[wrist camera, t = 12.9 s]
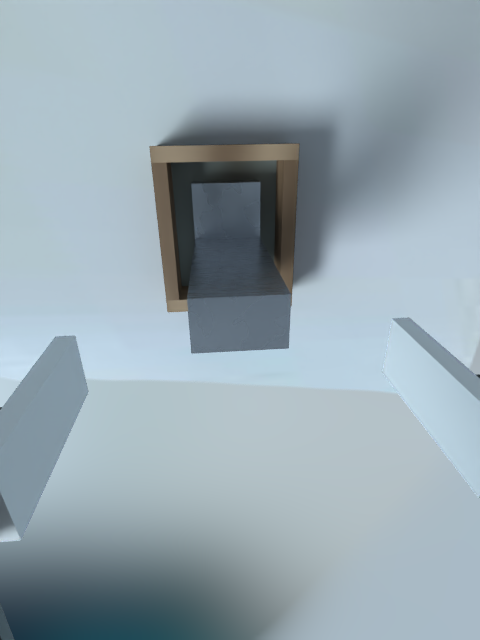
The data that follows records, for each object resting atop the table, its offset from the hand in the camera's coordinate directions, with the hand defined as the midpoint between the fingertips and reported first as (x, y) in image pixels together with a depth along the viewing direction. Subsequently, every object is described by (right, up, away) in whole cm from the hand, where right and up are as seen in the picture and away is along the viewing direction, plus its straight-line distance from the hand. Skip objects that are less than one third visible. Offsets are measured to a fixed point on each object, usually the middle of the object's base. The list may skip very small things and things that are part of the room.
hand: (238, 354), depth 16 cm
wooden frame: (-1, +9, +15) cm, 18 cm away
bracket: (-1, +9, +14) cm, 17 cm away
